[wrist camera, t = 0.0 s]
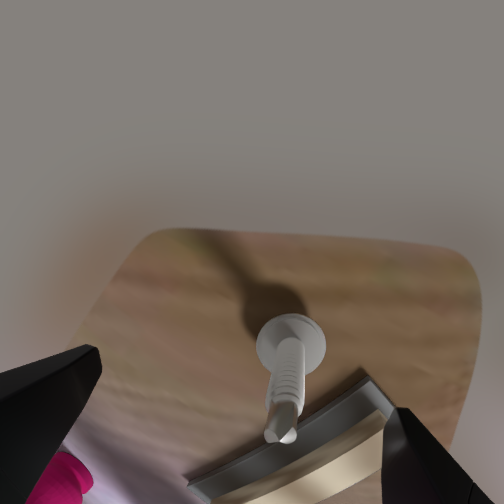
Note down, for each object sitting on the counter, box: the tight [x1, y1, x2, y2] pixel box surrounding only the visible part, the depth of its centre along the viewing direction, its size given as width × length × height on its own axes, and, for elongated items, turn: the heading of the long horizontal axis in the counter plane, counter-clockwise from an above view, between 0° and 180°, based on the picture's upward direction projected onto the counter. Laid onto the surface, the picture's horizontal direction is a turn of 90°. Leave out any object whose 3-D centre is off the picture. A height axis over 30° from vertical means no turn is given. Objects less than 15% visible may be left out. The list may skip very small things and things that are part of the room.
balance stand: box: [187, 375, 396, 504], centre depth 23 cm, size 21×9×4 cm, turn 132°
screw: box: [256, 313, 326, 444], centre depth 17 cm, size 13×5×5 cm
